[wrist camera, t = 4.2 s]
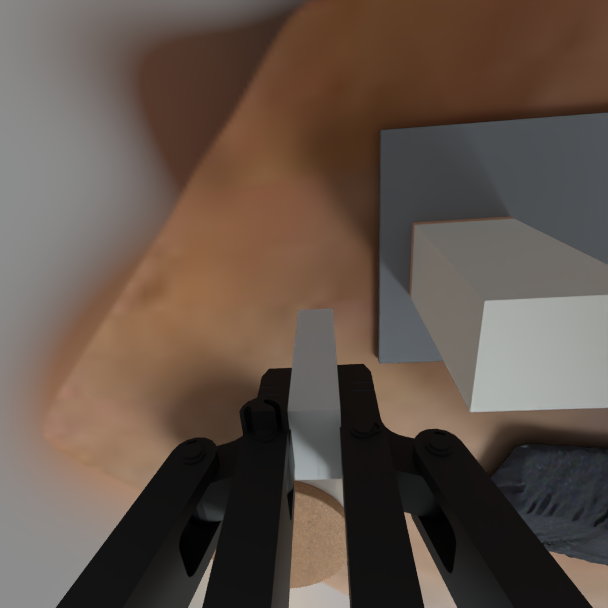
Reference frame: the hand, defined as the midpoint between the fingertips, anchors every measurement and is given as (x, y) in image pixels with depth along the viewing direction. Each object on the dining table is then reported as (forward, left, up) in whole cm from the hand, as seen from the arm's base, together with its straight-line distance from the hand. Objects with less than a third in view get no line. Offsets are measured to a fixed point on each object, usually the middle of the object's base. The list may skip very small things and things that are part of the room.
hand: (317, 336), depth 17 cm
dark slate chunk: (-24, -24, -11) cm, 35 cm away
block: (0, -9, -10) cm, 13 cm away
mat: (0, -15, -10) cm, 18 cm away
